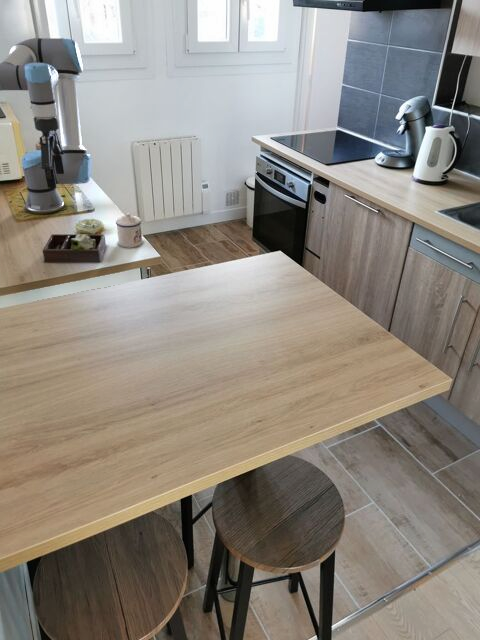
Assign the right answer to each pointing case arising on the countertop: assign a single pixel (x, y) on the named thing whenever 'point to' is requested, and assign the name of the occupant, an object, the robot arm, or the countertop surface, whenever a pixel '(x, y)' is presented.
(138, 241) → the teacup with lid
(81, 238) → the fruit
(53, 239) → the caddy
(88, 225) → the decorated donut
